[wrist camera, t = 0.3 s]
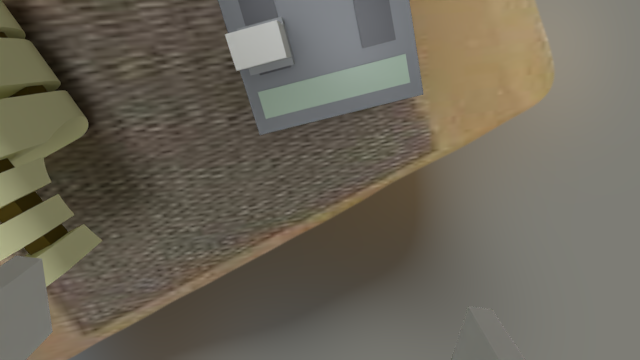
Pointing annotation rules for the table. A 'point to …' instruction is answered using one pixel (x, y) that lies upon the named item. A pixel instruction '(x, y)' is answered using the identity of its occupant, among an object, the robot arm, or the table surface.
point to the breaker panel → (321, 57)
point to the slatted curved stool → (35, 155)
